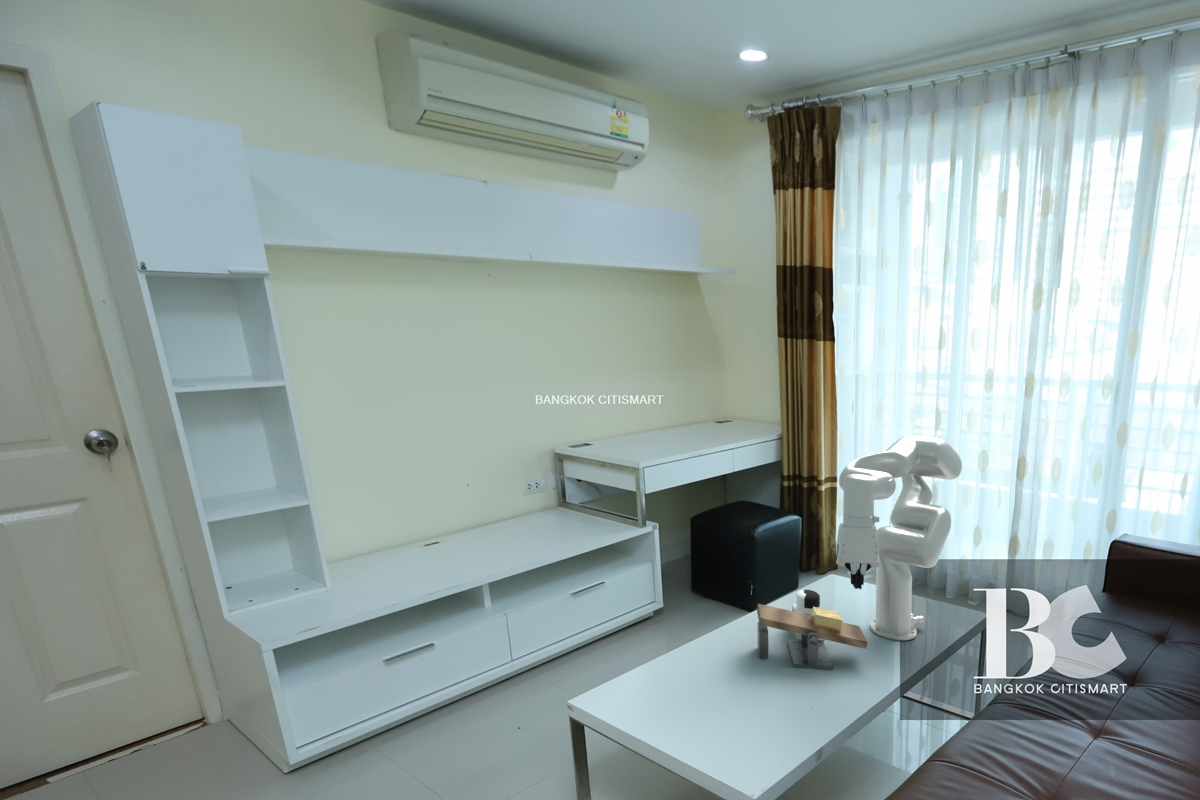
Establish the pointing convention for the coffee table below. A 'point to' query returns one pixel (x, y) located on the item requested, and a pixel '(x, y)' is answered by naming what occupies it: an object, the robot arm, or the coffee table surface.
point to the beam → (809, 626)
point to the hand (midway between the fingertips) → (857, 586)
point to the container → (806, 604)
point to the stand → (799, 650)
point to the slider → (826, 619)
